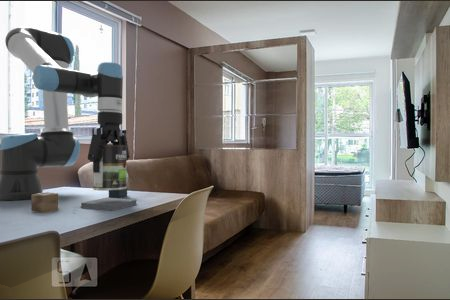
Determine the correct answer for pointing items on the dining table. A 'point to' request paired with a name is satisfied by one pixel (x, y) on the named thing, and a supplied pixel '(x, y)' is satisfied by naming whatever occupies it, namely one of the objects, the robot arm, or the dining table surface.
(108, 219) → the dining table surface
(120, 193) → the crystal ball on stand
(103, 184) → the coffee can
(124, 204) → the mat
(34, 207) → the marked cube
